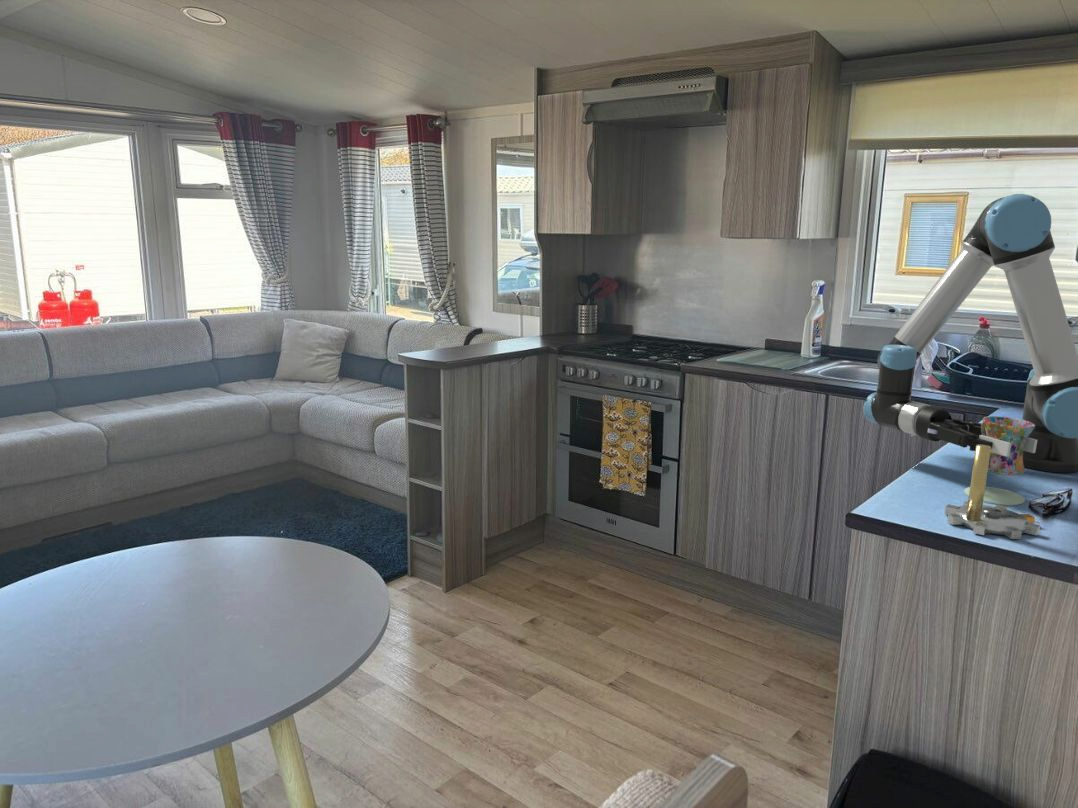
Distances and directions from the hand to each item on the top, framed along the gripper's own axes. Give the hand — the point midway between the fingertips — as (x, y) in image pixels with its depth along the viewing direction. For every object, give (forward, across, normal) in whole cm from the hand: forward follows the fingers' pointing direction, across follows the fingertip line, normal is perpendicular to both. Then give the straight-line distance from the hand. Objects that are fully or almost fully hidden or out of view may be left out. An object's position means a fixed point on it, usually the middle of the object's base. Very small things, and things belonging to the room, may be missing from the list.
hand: (1022, 448), depth 160 cm
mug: (-5, 0, -6) cm, 8 cm away
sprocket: (+6, +16, -12) cm, 21 cm away
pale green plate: (-5, 0, -12) cm, 13 cm away
